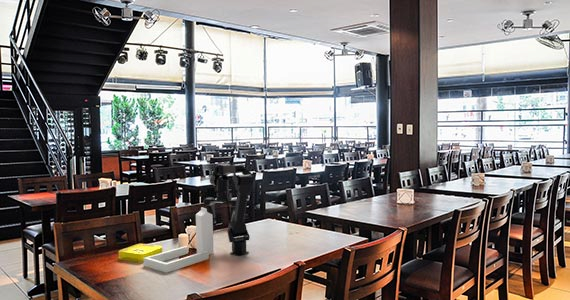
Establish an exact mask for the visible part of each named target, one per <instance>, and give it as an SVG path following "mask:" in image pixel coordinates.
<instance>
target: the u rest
mask: <svg viewBox="0 0 570 300" xmlns="http://www.w3.org/2000/svg"><path fill="white" fill-rule="evenodd" d="M185 255H189V246H187V245H185V246H181V247H178V248H174V249H170V250H168V251H167V250H166V251H162V253H160V254H156V255H153V256H149V257H146V258H143V259H144V262H143V267H146V268H150V269H153V270H156V271H160V272H162V273H165V274H166V273H170V272H174V271H176V270H179V269H182V268H184V267H188V266H192V265H195V264H196V263H197V264H198V263H201V262H203V261H206V260H209V259H210V257H209V255H210V254H209V251H204V252H201V253H197V252H196V253H194V254H191V255H189V256H185ZM182 256H185V257H182ZM179 257H182V258H179ZM176 258H179V259H176ZM172 259H174V260H172ZM169 260H172V261H169ZM166 261H169V262H166Z"/></svg>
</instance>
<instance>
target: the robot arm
mask: <svg viewBox="0 0 570 300" xmlns="http://www.w3.org/2000/svg"><path fill="white" fill-rule="evenodd" d="M231 173H232V174H233V175H232V181H233V184H234V188H235V190H236V193H237V194H236V198H233V193H231V192H230V189H229V181H230V178H229V177H228V175H230V174H231ZM236 173H237V174H238V173H241V175H237V174H236ZM209 183H210V185H212V186H214V187H216V190H215V192H216V199H215V197H206V198H204V199H203V202H202V203H203V205H204V206H205V208H208V210H209V211H210V214H212V215H213V219H215V218H216V207H215V206H216V204H220V205H221V204H222V205H223V204H225V205H226V204H227V205H231V206H230V215H229V217H230V220H228V227H227V236H228V242H229V243H231V252H230V253H229V254H230V255H234V256H238V257H241V256H243V255H246V254H249V253H250V252H249V251H247V241H250V235H249V232H248V229H247V225H246V223H245V217H246V209H247V202H248V195H249V194H250V193H251V191H252V190H253V188H254V184H255V178H254V176H253V174H252V172H251V171H249V170H248V169H247V168H246V167H245V165H244V164H243V163H238V164H237V163H236V164H231V163H216V164H215V165H214V167H213V170H212V172H211V176H210V178H209ZM232 198H233V199H232Z"/></svg>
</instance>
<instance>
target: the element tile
mask: <svg viewBox="0 0 570 300" xmlns="http://www.w3.org/2000/svg"><path fill="white" fill-rule="evenodd" d="M160 253H163V246H162V245H156V244H148V243H137V244H134V245H131V246H128V247H125V248H122V249H120V250H118V260H120V261H126V262H131V261H132V263H138V262H140V263H141V264H142V263H144V259H143V258H146V257H149V256H153V255H156V254H160Z"/></svg>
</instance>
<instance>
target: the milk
mask: <svg viewBox="0 0 570 300" xmlns="http://www.w3.org/2000/svg"><path fill="white" fill-rule="evenodd" d="M213 219H214V218H213V215H212V214H211V212H208V209H207V207H200V210H199V211H198V212H197V213H196V214H195V233H196V236H195V237H196V239H195V240H196V254H197V253H201V252H204V251H209V255H212V254H214V225H213V224H214V222H213V221H214V220H213Z"/></svg>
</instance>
